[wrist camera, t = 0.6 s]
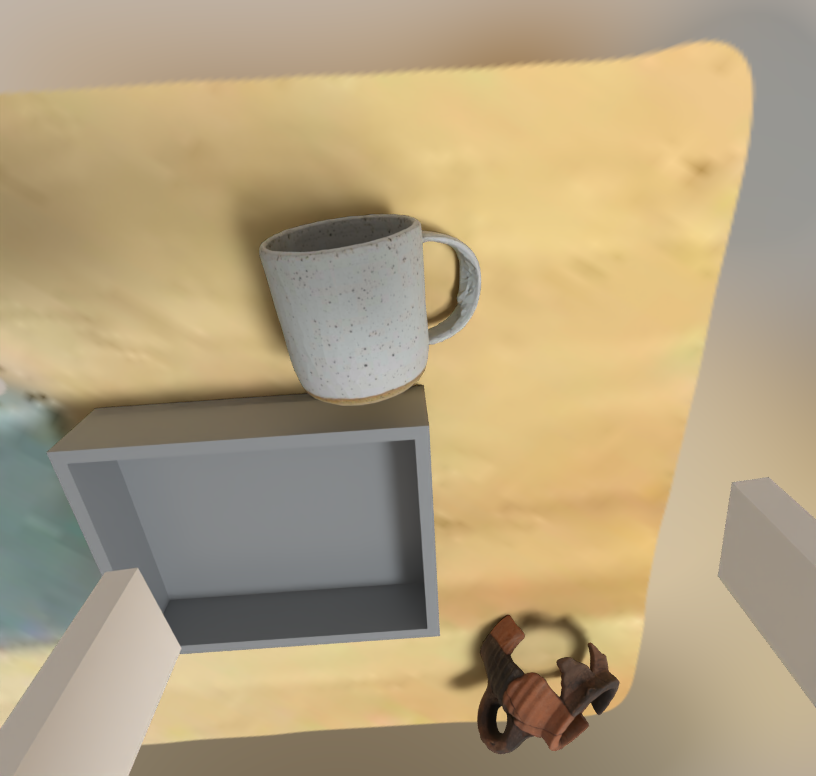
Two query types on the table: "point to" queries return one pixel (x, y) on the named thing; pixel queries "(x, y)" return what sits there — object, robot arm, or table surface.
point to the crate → (264, 515)
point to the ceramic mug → (360, 303)
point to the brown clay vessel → (538, 694)
